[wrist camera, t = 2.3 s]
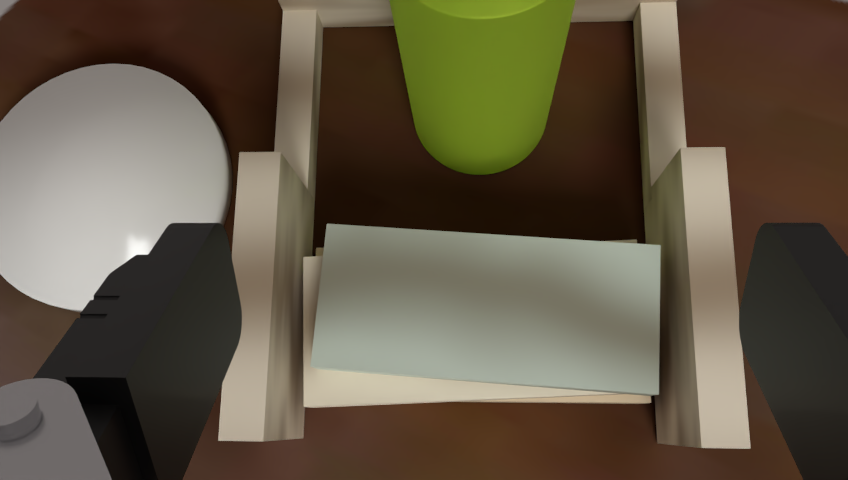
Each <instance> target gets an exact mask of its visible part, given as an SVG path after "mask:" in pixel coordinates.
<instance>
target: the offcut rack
mask: <svg viewBox="0 0 848 480" xmlns="http://www.w3.org/2000/svg"><path fill="white" fill-rule="evenodd" d="M278 1H279V3H280V5H281V8H282V10H283V20H282V36H281V52H280V68H279V84H278V100H277V116H276V132H275V148H274V152H239V165H238V179H237V193H236V206H235V220H234V233H233V247H232V262H233V267H234V272H235V277H236V282H237V287H238V292H239V297H240V302H241V309H242V328H241V335H240V340H239V344H238V347H237V349H236V351H235V354H234V356H233V359H232V361H231V363H230V366H229V368H228V371H227V373H226V376H225V378H224V380H223V383H222V396H221V410H220V423H219V437H218V441H274V440H286V439H299V438H303V435H304V414H305V407H311V408H316V407H339V406H363V405H387V404H410V403H434V402H519V403H608V404H645V403H651V396H653V395H654V396H655V414H656V431H657V443H659V444H669V445H679V446H688V447H698V448H742V449H751V448H750V436H749V424H748V412H747V401H746V389H745V377H744V365H743V353H742V344H741V340H740V333H739V306H738V294H737V283H736V271H735V259H734V247H733V235H732V224H731V212H730V200H729V188H728V176H727V164H726V153H725V147H696V148H686V135H685V121H684V107H683V93H682V79H681V66H680V52H679V38H678V24H677V10H676V1H677V0H576V1H575V5H574V9H573V13H572V17H571V22H600V21H633V28H634V46H635V63H636V81H637V98H638V116H639V133H640V151H641V168H642V186H643V203H644V221H645V239H646V244H637V239H634V240H615V241H589V240H573V239H558V238H542V237H527V236H511V235H496V234H480V233H465V232H449V231H434V230H418V229H403V228H387V227H372V226H356V225H341V224H327V226H326V235H325V243H324V248H316V256H313V257H312V249H313V229H314V208H315V187H316V167H317V146H318V125H319V105H320V84H321V63H322V43H323V27H364V26H394V21H393V16H392V11H391V6H390V1H389V0H278Z"/></svg>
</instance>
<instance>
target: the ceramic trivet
mask: <svg viewBox="0 0 848 480" xmlns="http://www.w3.org/2000/svg"><path fill="white" fill-rule="evenodd" d="M232 190H233V172H232V164H231V158H230V154H229V150H228V147H227V144H226V141H225V139H224V137H223V134H222V132H221V130H220V128H219V127H218V125H217V123H216V122H215V120H214V119H213V117H212V116H211V115H210V114H209V113H208V111H207V110H206V109H205V108H204V107H203V105H202V104H201V103H200V102H199V101H198V100H197V98H196V97H195V96H194V95H193V94H192V93H190V92H189V91H188V90H187V89H186V88H185V87H184V86H182V85H181V84H179V83H178V82H176V81H175V80H173V79H172V78H170V77H168V76H166V75H163V74H161V73H159V72H157V71H154V70H151V69H148V68H145V67H140V66H134V65H129V64H100V65H93V66H88V67H83V68H79V69H76V70H73V71H70V72H66V73H64V74H62V75H60V76H57V77H55V78H53V79H51V80H49V81H47V82H46V83H44V84H42V85H41V86H39V87H37V88H36V89H34V90H33V91H32V92H30V93H29V94H28V95H27V96H25V97H24V98H23V99H22V100H21V101H20V102H18V103H17V104H16V105H15V106H14V107H13V108H12V109H11V110H10V111H9V113H8V114H7V115H6V116H5V117H4V119H3V120H2V121H1V122H0V274H1V275H2V276H3V277H4V278H5V279H6V280H7V281H8V282H9V283H10V284H11V285H13V286H14V287H15V288H17V289H18V290H19V291H21V292H23V293H24V294H26V295H28V296H30V297H32V298H33V299H36V300H38V301H41V302H44V303H46V304H49V305H53V306H56V307H60V308H63V309H68V310H72V311H77V312H82V311H83V309H84V308H85V306H86V305H87V304H88V302H89V301H90V300H93V299H94V294H95V293H96V291H97V290H98V289H99V287H100V286H101V285H102V283H103V282H104V280H105V279H106V278H107V276H108V275H109V274H110V273H111V272H113V271H114V270H115V269H117V268H118V267H120V266H121V265H123V264H124V263H125V262H127V261H128V260H130V259H131V258H133V257H134V256H135V255H148V254H149V253H150V251H151V250H152V248H153V247H154V245H155V244H156V242H157V241H158V239H159V238H160V236H161V235H162V233H163V232H164V231H165V229H166V228H167V226H168V225H169V224H171V223H220V224H222V225H223V226H224V224H225V222H226V218H227V215H228V212H229V208H230V203H231V197H232Z"/></svg>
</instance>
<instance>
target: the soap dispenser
mask: <svg viewBox="0 0 848 480" xmlns="http://www.w3.org/2000/svg"><path fill="white" fill-rule="evenodd" d="M389 1H390V6H391V11H392V16H393V21H394V26H395V31H396V36H397V41H398V46H399V51H400V56H401V60H402V65H403V70H404V75H405V80H406V85H407V90H408V95H409V100H410V105H411V110H412V115H413V120H414V125H415V129H416V132H417V135H418V137H419V139H420V141H421V143H422V145H423V146H424V147H425V149H426V150H427V151H428V152H429V154H430V155H431V156H432V157H434V158H435V159H436V160H437V161H438V162H440V163H441V164H443V165H445V166H446V167H448V168H450V169H453V170H455V171H458V172H462V173H466V174H473V175H486V174H493V173H498V172H501V171H504V170H507V169H509V168H511V167H513V166H515V165H517V164H518V163H520V162H521V161H522V160H524V159H525V158H526V157H527V156H528V155H529V154H530V153H531V152H532V151H533V150H534V149H535V147H536V146H537V144H538V143H539V141H540V139H541V137H542V135H543V132H544V130H545V126H546V122H547V118H548V114H549V110H550V105H551V101H552V97H553V93H554V89H555V84H556V80H557V76H558V72H559V68H560V64H561V59H562V55H563V51H564V47H565V43H566V38H567V34H568V30H569V26H570V22H571V17H572V13H573V9H574V5H575V1H576V0H389Z"/></svg>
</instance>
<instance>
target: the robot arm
mask: <svg viewBox="0 0 848 480" xmlns="http://www.w3.org/2000/svg"><path fill="white" fill-rule="evenodd" d="M241 328H242V309H241V302H240V297H239V292H238V287H237V282H236V277H235V272H234V267H233V262H232V257H231V252H230V247H229V242H228V237H227V233H226V230H225V228H224V227H223V225H222V224H220V223H171V224H169V225H168V226H167V228H166V229H165V231H164V232H163V233H162V235H161V236H160V238H159V239H158V241H157V242H156V244H155V245H154V247H153V248H152V250H151V251H150V253H149V254H148V255H135V256H134V257H133V258H131V259H130V260H128V261H127V262H125V263H124V264H123V265H121V266H120V267H118V268H117V269H115V270H114V271H113V272H111V273H110V274H109V275H108V276H107V278H106V279H105V280H104V282H103V283H102V285H101V286H100V287H99V289H98V290H97V291H96V293H95V294H94V299H93V300H90V301H89V302H88V304H87V305H86V306H85V308H84V309H83V311H82V312H81V313H80V318H77V319H76V320H75V322H74V323H73V324H72V326H71V327H70V328H69V330H68V331H67V332H66V334H65V335H64V337H63V338H62V339H61V341H60V342H59V343H58V345H57V346H56V348H55V349H54V350H53V352H52V353H51V354H50V356H49V357H48V358H47V360H46V361H45V363H44V364H43V365H42V367H41V368H40V369H39V371H38V372H37V374H36V375H35V376H34V378H33V379H27V380H22V381H18V382H14V383H11V384H8V385H5V386H2V387H0V480H182V479H183V477H184V474H185V472H186V470H187V467H188V465H189V462H190V460H191V458H192V455H193V453H194V450H195V448H196V445H197V443H198V441H199V438H200V436H201V433H202V431H203V429H204V426H205V424H206V421H207V419H208V417H209V414H210V412H211V409H212V407H213V404H214V402H215V400H216V397H217V395H218V392H219V390H220V388H221V385H222V383H223V380H224V378H225V376H226V373H227V371H228V368H229V366H230V363H231V361H232V359H233V356H234V354H235V351H236V349H237V347H238V344H239V340H240V335H241ZM739 333H740V340H741V344H742V348H743V351H744V353H745V355H746V357H747V359H748V362H749V364H750V366H751V368H752V370H753V372H754V375H755V377H756V379H757V381H758V383H759V385H760V387H761V390H762V392H763V394H764V396H765V398H766V400H767V402H768V405H769V407H770V409H771V411H772V413H773V415H774V417H775V420H776V422H777V424H778V426H779V428H780V430H781V432H782V435H783V437H784V439H785V441H786V443H787V445H788V447H789V450H790V452H791V454H792V456H793V458H794V460H795V462H796V465H797V467H798V469H799V471H800V473H801V475H802V477H803V480H848V257H847V255H846V254H845V253H844V251H843V250H842V249H841V247H840V246H839V245H838V244H837V242H836V241H835V240H834V238H833V237H832V236H831V235H830V233H829V232H828V231H827V229H826V228H825V227H824V226H823V225H822V224H820V223H765V224H763V225H762V226H761V227H760V229H759V231H758V233H757V236H756V240H755V244H754V249H753V253H752V258H751V262H750V267H749V271H748V276H747V280H746V285H745V289H744V293H743V298H742V302H741V307H740V313H739Z"/></svg>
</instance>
